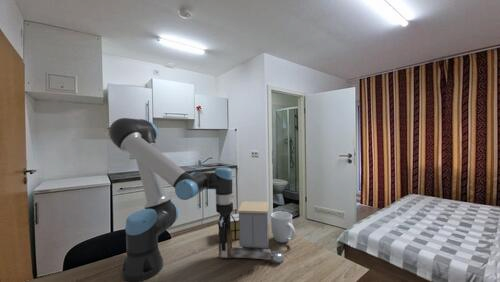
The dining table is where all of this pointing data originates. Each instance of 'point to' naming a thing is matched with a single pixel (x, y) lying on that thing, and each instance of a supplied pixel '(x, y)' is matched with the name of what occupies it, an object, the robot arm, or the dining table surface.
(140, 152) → the robot arm
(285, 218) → the mug
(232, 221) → the puzzle cube
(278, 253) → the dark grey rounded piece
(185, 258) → the dining table surface
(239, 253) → the tan block on post
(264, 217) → the grey cabinet
